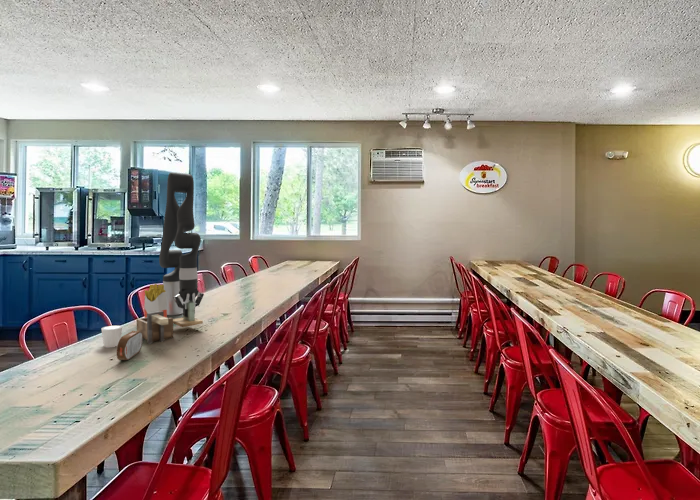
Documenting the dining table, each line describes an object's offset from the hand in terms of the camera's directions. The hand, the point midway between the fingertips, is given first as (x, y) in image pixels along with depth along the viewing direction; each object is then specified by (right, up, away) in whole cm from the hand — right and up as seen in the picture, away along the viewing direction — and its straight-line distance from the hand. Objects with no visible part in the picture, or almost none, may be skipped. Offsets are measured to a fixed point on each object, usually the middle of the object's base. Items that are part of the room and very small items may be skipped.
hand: (189, 316), depth 177 cm
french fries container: (-21, -5, +12) cm, 24 cm away
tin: (-6, -8, -36) cm, 38 cm away
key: (-2, +1, -22) cm, 23 cm away
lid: (-1, -3, -1) cm, 3 cm away
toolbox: (-9, -7, -13) cm, 17 cm away
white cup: (-20, -7, -23) cm, 32 cm away
